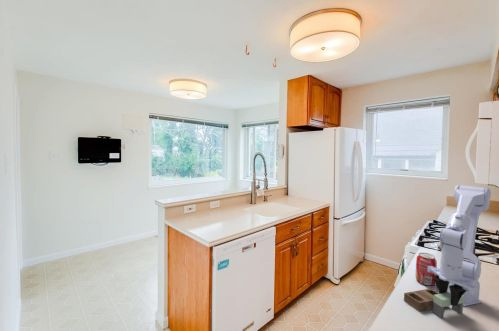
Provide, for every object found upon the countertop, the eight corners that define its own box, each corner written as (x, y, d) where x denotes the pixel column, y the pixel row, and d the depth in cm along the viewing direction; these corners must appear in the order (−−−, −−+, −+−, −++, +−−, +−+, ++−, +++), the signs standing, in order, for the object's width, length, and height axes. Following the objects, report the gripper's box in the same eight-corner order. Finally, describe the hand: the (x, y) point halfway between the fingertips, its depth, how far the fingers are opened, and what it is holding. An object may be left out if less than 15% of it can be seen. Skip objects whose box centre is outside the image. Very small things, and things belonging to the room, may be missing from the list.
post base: (430, 295, 92) (430, 288, 92) (446, 305, 86) (447, 297, 86) (403, 300, 88) (404, 293, 88) (418, 311, 83) (419, 303, 83)
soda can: (426, 277, 105) (428, 251, 104) (439, 287, 98) (441, 259, 97) (411, 277, 105) (412, 251, 104) (423, 287, 98) (425, 259, 97)
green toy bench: (453, 308, 85) (454, 290, 84) (463, 313, 82) (464, 295, 81) (432, 312, 82) (433, 294, 82) (441, 318, 79) (442, 300, 79)
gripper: (422, 255, 87) (419, 291, 88) (467, 276, 73) (463, 317, 74) (436, 254, 89) (434, 288, 89) (483, 273, 75) (479, 314, 75)
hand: (448, 301), depth 82 cm, fingers closed on green toy bench, 3 cm apart
